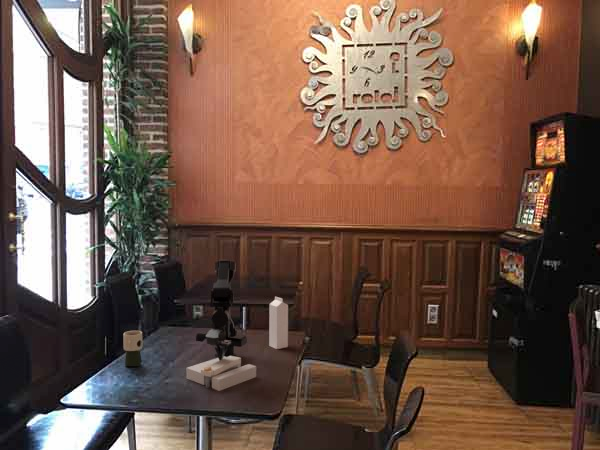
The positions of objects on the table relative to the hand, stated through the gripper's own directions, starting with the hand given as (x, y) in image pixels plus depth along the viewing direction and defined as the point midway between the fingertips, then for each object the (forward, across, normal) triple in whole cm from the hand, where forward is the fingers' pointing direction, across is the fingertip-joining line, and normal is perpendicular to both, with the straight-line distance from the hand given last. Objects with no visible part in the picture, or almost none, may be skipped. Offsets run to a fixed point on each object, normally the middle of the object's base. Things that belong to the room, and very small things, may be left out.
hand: (220, 360), depth 196 cm
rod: (+5, +4, -1) cm, 6 cm away
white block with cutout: (+5, +2, -2) cm, 6 cm away
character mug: (+6, -37, -2) cm, 38 cm away
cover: (+1, +2, -4) cm, 5 cm away
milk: (+5, +8, +40) cm, 42 cm away
